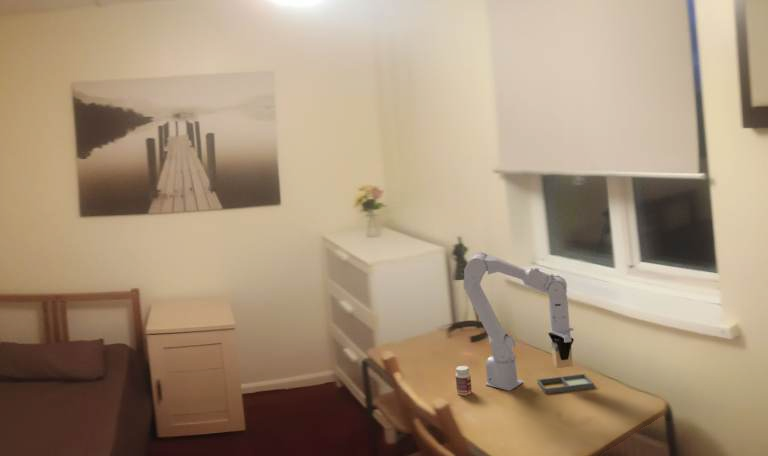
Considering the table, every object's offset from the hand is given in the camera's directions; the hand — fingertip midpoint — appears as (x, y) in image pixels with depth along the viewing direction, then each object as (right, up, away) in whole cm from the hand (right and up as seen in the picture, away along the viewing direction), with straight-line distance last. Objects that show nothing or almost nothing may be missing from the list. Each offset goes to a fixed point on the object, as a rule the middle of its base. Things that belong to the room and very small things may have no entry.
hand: (562, 357), depth 203 cm
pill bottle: (-30, -13, +5) cm, 33 cm away
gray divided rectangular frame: (+1, -10, +2) cm, 10 cm away
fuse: (0, -3, 0) cm, 3 cm away
